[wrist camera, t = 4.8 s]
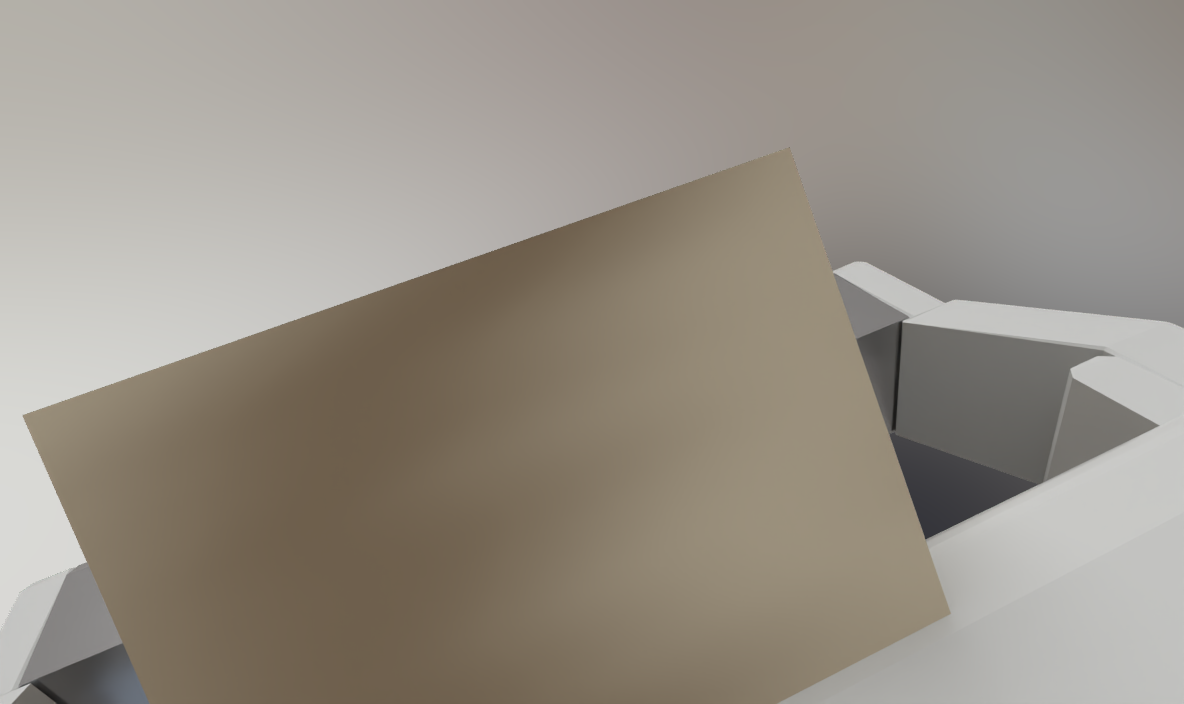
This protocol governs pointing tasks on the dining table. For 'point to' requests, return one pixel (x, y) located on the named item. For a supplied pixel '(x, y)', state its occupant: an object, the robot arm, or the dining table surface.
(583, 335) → the maple bar
